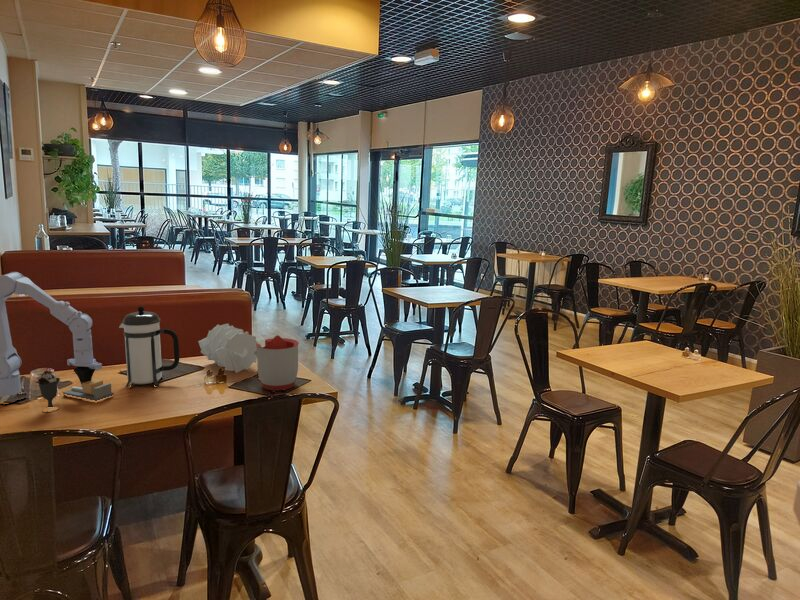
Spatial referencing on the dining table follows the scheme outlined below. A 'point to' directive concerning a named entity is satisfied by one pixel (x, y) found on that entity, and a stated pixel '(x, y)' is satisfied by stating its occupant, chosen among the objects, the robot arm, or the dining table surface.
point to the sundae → (48, 386)
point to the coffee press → (145, 347)
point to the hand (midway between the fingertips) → (86, 386)
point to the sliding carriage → (91, 385)
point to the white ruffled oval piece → (229, 347)
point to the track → (98, 392)
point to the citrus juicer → (277, 363)
